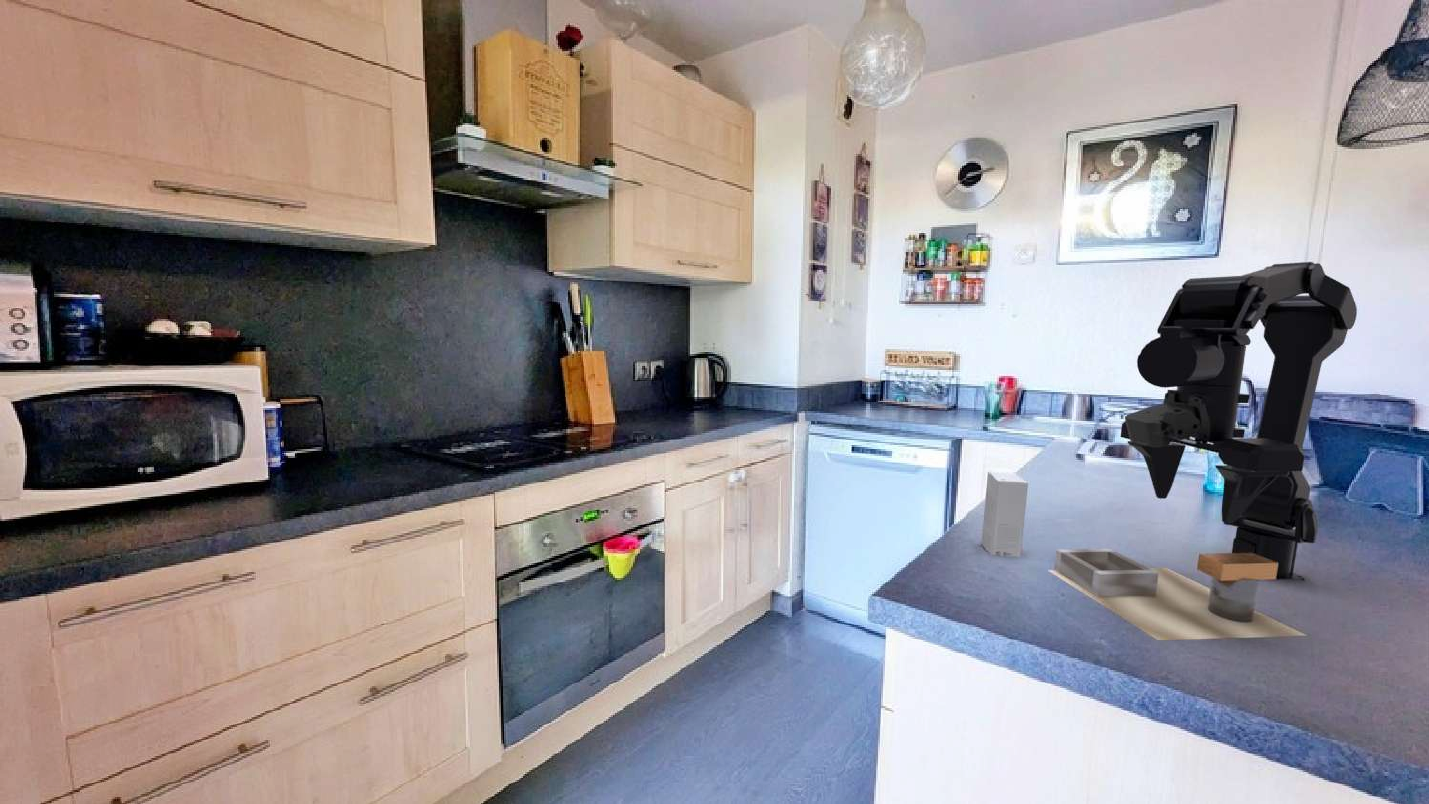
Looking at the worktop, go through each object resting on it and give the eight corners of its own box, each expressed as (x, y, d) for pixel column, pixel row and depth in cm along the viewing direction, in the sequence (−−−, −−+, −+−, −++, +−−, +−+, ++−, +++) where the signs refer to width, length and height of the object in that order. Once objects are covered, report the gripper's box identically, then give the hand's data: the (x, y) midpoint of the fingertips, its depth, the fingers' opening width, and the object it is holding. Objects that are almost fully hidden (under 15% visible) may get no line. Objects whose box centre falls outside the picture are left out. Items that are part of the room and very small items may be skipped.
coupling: (1239, 605, 70) (1247, 551, 69) (1274, 621, 66) (1283, 564, 66) (1187, 606, 70) (1195, 552, 69) (1219, 623, 66) (1227, 565, 65)
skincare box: (1021, 561, 84) (1029, 482, 82) (990, 558, 85) (997, 480, 83) (1009, 546, 90) (1015, 472, 88) (980, 543, 91) (986, 470, 89)
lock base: (1165, 571, 81) (1168, 547, 81) (1305, 640, 64) (1310, 610, 63) (1047, 574, 80) (1049, 549, 79) (1157, 645, 62) (1161, 614, 61)
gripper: (1088, 376, 77) (1077, 488, 79) (1216, 393, 58) (1197, 539, 60) (1167, 376, 77) (1154, 487, 79) (1319, 393, 59) (1296, 537, 61)
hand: (1192, 509), depth 70 cm, fingers open, 9 cm apart
